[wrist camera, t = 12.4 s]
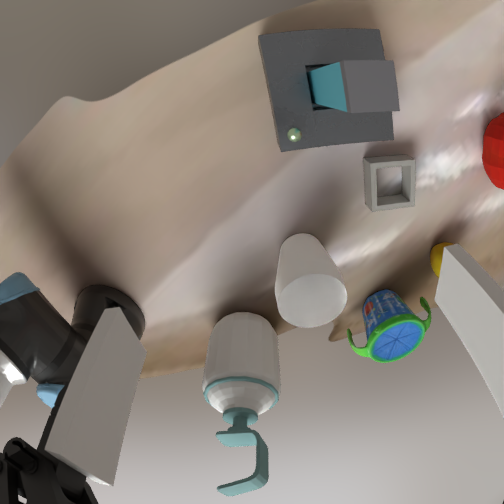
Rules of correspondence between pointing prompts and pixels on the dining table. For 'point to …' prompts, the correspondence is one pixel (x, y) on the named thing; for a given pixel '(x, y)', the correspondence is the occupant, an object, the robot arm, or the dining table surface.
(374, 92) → the plug
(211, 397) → the soap bottle
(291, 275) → the cup
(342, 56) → the port
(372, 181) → the holster
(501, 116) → the tomato
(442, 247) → the apple
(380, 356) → the snack cup
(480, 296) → the robot arm
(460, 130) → the dining table surface
